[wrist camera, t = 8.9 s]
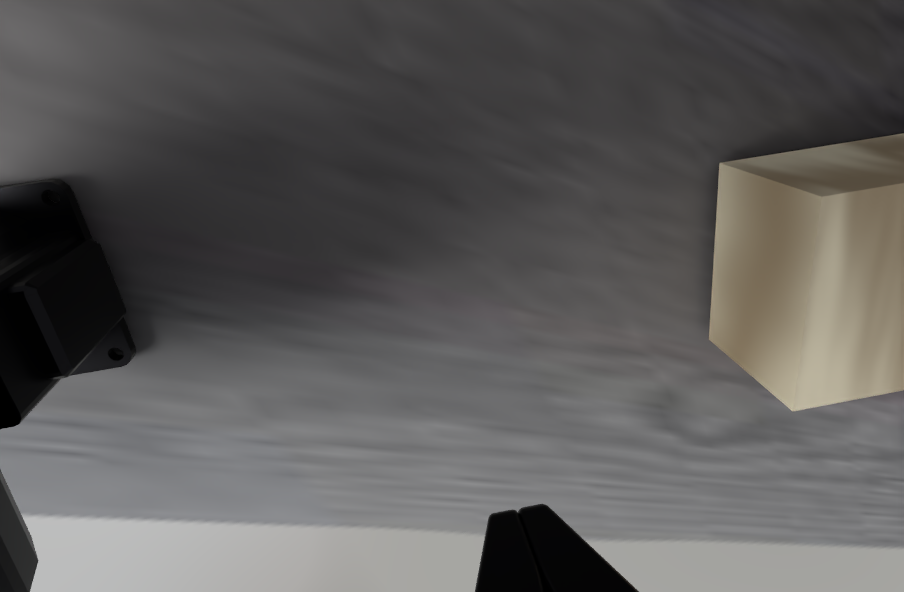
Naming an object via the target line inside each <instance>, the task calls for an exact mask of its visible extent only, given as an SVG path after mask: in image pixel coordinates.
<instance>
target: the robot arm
mask: <svg viewBox="0 0 904 592" xmlns="http://www.w3.org/2000/svg"><path fill="white" fill-rule="evenodd" d="M49 190H52V191H54V192H56V193H57V194H58V196H59V198H60V202H59V203H55V202H53V201H52V200H51V199H50V198H49V197H48V191H49ZM125 312H126V309H125V306H124V304H123V301H122V299H121V296H120V294H119V291H118V288H117V286H116V283H115V281H114V278H113V276H112V273H111V271H110V268H109V266H108V263H107V261H106V258H105V256H104V253H103V251H102V248H101V246H100V244H99V243H97V242H96V241H94V240H93V239H92V238H91V235H90V233H89V230H88V228H87V225H86V223H85V220H84V218H83V215H82V213H81V210H80V208H79V205H78V203H77V200H76V198H75V195H74V193H73V191H72V189H71V188H70V186H68V185H67V184H66V183H65V182H63V181H60V180H57V179H48V180H41V181H35V182H28V183H21V184H15V185H8V186H2V187H0V429H3V428H8V427H14V426H16V425H18V424H20V422H21V421H22V420H23V419H24V418H25V417H26V416H27V415H28V414H29V413H30V412H31V411H32V409H33V408H34V407H35V406H36V405H37V404H38V403H39V402H40V401H41V400H42V399H43V398H44V397H45V395H46V394H47V393H48V392H49V391H50V390H51V389H52V388H53V387H54V386H55V385H56V384H57V383H58V381H59V380H60V379H61V378H65V377H68V376H70V375H76V374H82V373H88V372H93V371H99V370H105V369H111V368H116V367H122V366H124V365H127V364H128V363H129V362H130V361H131V359H132V358H133V357H134V355H135V352H136V349H135V345H134V342H133V340H132V337H131V335H130V332H129V330H128V327H127V325H126V322H125V320H124V317H123V316H124V314H125ZM113 348H119V349H121V350H122V351H123V353H124V355H118V354H116V353H115V352H114V351H113ZM37 563H38V558H37V555H36V551H35V548H34V544H33V541H32V537H31V535H30V533H29V531H28V528H27V526H26V524H25V522H24V520H23V518H22V516H21V513H20V511H19V509H18V507H17V505H16V503H15V500H14V498H13V496H12V494H11V492H10V490H9V487H8V485H7V483H6V481H5V479H4V477H3V474H2V472H1V470H0V592H30V589H31V585H32V581H33V578H34V574H35V570H36V567H37ZM475 592H639V591H637V589H635V588H634V587H633V586H632V585H631V584H630V583H629V582H628V581H627V580H626V579H625V578H624V577H623V576H622V575H621V574H620V573H618V572H617V571H616V570H615V569H614V568H613V567H612V566H611V565H610V564H609V563H608V562H607V561H605V559H604V558H602V557H601V556H600V555H599V554H598V553H597V552H596V551H595V550H594V549H593V548H592V547H591V546H590V545H589V544H588V543H587V542H585V541H584V540H583V539H582V538H581V537H580V536H579V535H578V534H577V533H576V532H575V531H574V530H573V529H572V528H571V527H570V526H568V525H567V524H566V523H565V522H564V521H563V520H562V519H561V518H560V517H559V516H558V515H557V514H556V513H555V512H554V511H553V510H551V509H550V508H549V507H548V506H547V505H545V504H538V505H533V506H528V507H523V508H521V509H520V510H519V511H518V512H517V511H516V510H508V511H503V512H498V513H493V514H491V515H490V517H489V519H488V524H487V529H486V535H485V540H484V546H483V552H482V556H481V562H480V567H479V573H478V578H477V583H476V589H475Z"/></svg>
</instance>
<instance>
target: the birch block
mask: <svg viewBox="0 0 904 592" xmlns="http://www.w3.org/2000/svg"><path fill="white" fill-rule="evenodd" d="M709 340H710V341H712V342H713V343H714V344H715V345H716V346H717V347H718V348H720V349H721V350H722V351H723V352H724V353H725V354H727V355H728V356H729V357H730V358H731V359H732V360H734V361H735V362H736V363H737V364H738V365H739V366H741V367H742V368H743V369H744V370H745V371H746V372H748V373H749V374H750V375H751V376H752V377H753V378H754V379H756V380H757V381H758V382H759V383H760V384H761V385H763V386H764V387H765V388H766V389H767V390H768V391H770V392H771V393H772V394H773V395H774V396H775V397H777V398H778V399H779V400H780V401H781V402H782V403H784V404H785V405H786V406H787V407H788V408H789V409H791V410H792V411H798V410H803V409H808V408H814V407H819V406H824V405H829V404H834V403H840V402H845V401H850V400H855V399H860V398H865V397H871V396H876V395H881V394H886V393H891V392H897V391H902V390H904V133H902V134H896V135H890V136H884V137H877V138H871V139H865V140H859V141H853V142H846V143H840V144H834V145H828V146H821V147H815V148H809V149H803V150H797V151H790V152H784V153H778V154H772V155H765V156H759V157H753V158H747V159H741V160H734V161H728V162H722V163H720V164H719V180H718V197H717V214H716V230H715V247H714V264H713V280H712V297H711V314H710V330H709Z"/></svg>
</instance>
